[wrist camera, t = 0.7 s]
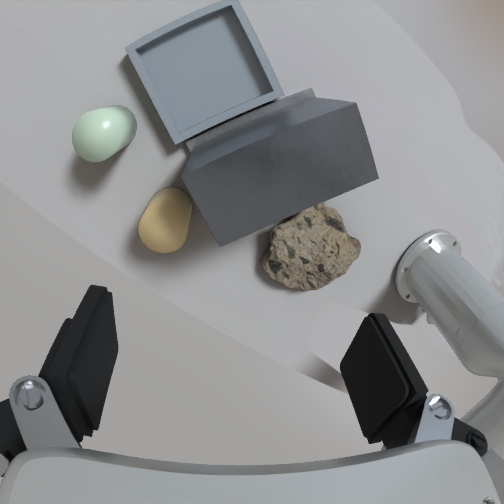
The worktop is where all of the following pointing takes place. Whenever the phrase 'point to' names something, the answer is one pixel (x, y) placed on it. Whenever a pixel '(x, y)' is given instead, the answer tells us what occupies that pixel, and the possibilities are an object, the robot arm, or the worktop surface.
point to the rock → (310, 249)
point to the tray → (204, 69)
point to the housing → (277, 163)
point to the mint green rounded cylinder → (103, 132)
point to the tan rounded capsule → (166, 220)
